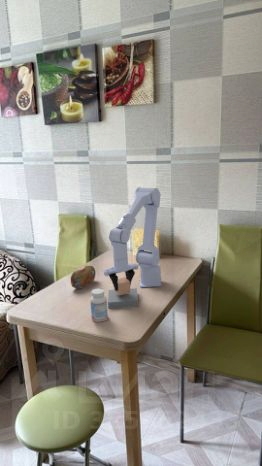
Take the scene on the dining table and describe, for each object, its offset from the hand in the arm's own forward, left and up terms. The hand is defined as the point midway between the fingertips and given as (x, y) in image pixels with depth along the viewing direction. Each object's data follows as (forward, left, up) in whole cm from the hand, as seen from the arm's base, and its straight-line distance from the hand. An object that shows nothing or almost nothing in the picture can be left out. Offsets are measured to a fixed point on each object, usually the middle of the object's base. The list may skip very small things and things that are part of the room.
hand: (122, 288), depth 146 cm
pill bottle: (+9, +14, -6) cm, 18 cm away
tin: (+18, -19, -6) cm, 27 cm away
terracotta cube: (0, 0, -2) cm, 2 cm away
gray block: (0, 0, -6) cm, 6 cm away
